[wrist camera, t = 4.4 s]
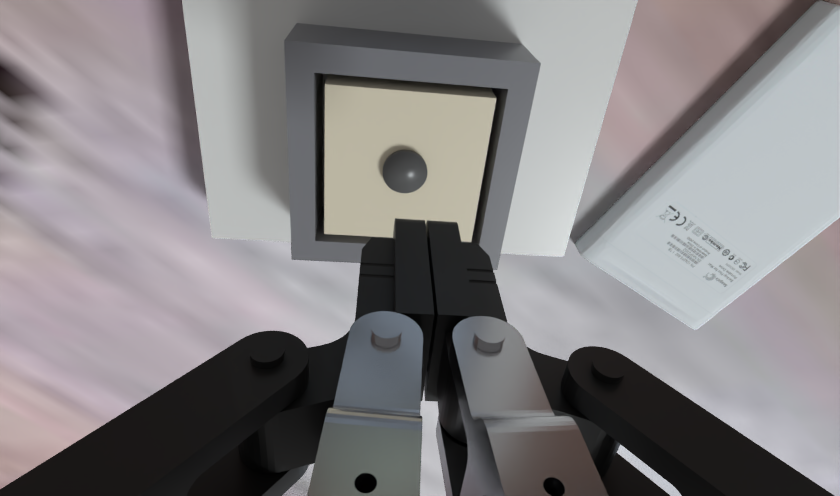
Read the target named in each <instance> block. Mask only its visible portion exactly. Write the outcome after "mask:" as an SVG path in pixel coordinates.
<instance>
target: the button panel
mask: <svg viewBox="0 0 840 496" xmlns="http://www.w3.org/2000/svg"><path fill="white" fill-rule="evenodd" d="M637 1H638V0H182V5H183V13H184V21H185V29H186V37H187V45H188V53H189V60H190V68H191V76H192V84H193V92H194V100H195V108H196V116H197V124H198V132H199V140H200V148H201V155H202V163H203V171H204V179H205V187H206V195H207V203H208V211H209V219H210V227H211V235H212V238H218V239H237V240H256V241H274V242H291V254H292V260H311V261H331V262H351V263H361V253H362V248H363V247H364V246H365V245H366V244H367V242H368V241H369V240H370V239H371V238H372V237H371V236H353V235H334V234H324V164H325V82H326V79H327V76H328V74H336V75H347V76H359V77H371V78H383V79H395V80H407V81H418V82H430V83H442V84H454V85H466V86H478V87H490V88H491V89H492V91H493V93H494V95H495V97H496V98H497V99H496V104H495V110H494V116H493V121H492V127H491V133H490V138H489V144H488V150H487V155H486V161H485V167H484V173H483V178H482V184H481V190H480V195H479V201H478V207H477V212H476V218H475V224H474V229H473V235H472V241H471V242H461V243H474V244H478V245H479V246H480V247H481V248H482V249H483V250H484V251H485V252H486V253H487V254H488V255H489V256H490V260H491V264H492V268H493V270H497V268H498V263H499V258H500V254H518V255H537V256H555V257H564V254H565V251H566V247H567V244H568V240H569V237H570V233H571V230H572V226H573V223H574V219H575V216H576V212H577V209H578V206H579V202H580V199H581V195H582V192H583V188H584V185H585V181H586V178H587V174H588V171H589V168H590V164H591V161H592V157H593V154H594V150H595V147H596V143H597V140H598V136H599V133H600V129H601V126H602V123H603V119H604V116H605V112H606V109H607V105H608V102H609V98H610V95H611V91H612V88H613V84H614V81H615V78H616V74H617V71H618V67H619V64H620V60H621V57H622V53H623V50H624V46H625V43H626V39H627V36H628V33H629V29H630V26H631V22H632V19H633V15H634V12H635V8H636V5H637ZM374 238H389V237H374ZM391 239H393V238H391Z"/></svg>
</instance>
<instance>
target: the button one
mask: <svg viewBox="0 0 840 496" xmlns="http://www.w3.org/2000/svg"><path fill="white" fill-rule="evenodd" d="M496 99H497V98H496V97H495V95H494V93H493V91H492V89H491V88H490V87H478V86H466V85H454V84H442V83H430V82H418V81H407V80H395V79H383V78H371V77H359V76H347V75H336V74H328V76H327V79H326V82H325V164H324V234H334V235H353V236H371V237H389V238H393V231H394V221H395V218H398V219H414V220H425V224H426V222H427V220H431V221H446V222H457V223H458V227H459V233H460V238H461V242H471V241H472V235H473V229H474V224H475V218H476V212H477V207H478V201H479V195H480V190H481V184H482V178H483V173H484V167H485V161H486V155H487V150H488V144H489V138H490V133H491V127H492V121H493V116H494V110H495V104H496Z"/></svg>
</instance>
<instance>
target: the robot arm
mask: <svg viewBox="0 0 840 496" xmlns="http://www.w3.org/2000/svg"><path fill="white" fill-rule="evenodd" d="M424 390H425V401H438V409H439V416H438V422H437V428H436V437H437V443H438V449H439V455H440V461H441V467H442V473H443V479H444V485H445V491H446V496H670V495H669V494H668V493H666V492H665V491H664V490H663V489H661V488H660V487H659V486H658V485H656V484H655V483H654V482H653V481H651V480H650V479H649V478H648V477H646V476H645V475H644V474H643V473H641V472H640V471H639V470H638V469H636V468H635V467H634V466H633V465H631V464H630V463H629V462H628V461H626V460H625V459H624V458H623V457H621V456H620V455H619V454H618V453H616V452H617V450H618V448H619V446H620V444H621V445H622V446H624V447H625V448H626V449H627V450H629V451H630V452H631V453H633V454H634V455H635V456H636V457H638V458H639V459H640V460H641V461H643V462H644V463H645V464H647V465H648V466H649V467H650V468H652V469H653V470H654V471H655V472H657V473H658V474H659V475H661V476H662V477H663V478H664V479H666V480H667V481H668V482H670V483H671V484H672V485H673V486H674V487H675V488H676V489H677V490H678V491H679V492H680V494H681V495H682V496H834V495H832V494H831V493H829V492H828V491H826V490H825V489H823V488H822V487H820V486H819V485H817V484H816V483H814V482H813V481H811V480H810V479H808V478H807V477H805V476H804V475H802V474H801V473H799V472H798V471H796V470H795V469H793V468H792V467H790V466H789V465H787V464H786V463H784V462H783V461H781V460H780V459H778V458H777V457H775V456H774V455H772V454H771V453H769V452H768V451H766V450H765V449H763V448H762V447H760V446H759V445H757V444H756V443H754V442H753V441H751V440H750V439H748V438H747V437H745V436H744V435H742V434H741V433H739V432H738V431H736V430H735V429H733V428H732V427H730V426H729V425H727V424H726V423H724V422H723V421H721V420H720V419H718V418H717V417H715V416H714V415H712V414H711V413H709V412H708V411H706V410H705V409H703V408H702V407H700V406H699V405H697V404H696V403H694V402H693V401H691V400H690V399H688V398H687V397H685V396H684V395H682V394H681V393H679V392H678V391H676V390H675V389H673V388H672V387H670V386H669V385H667V384H666V383H664V382H663V381H661V380H660V379H658V378H657V377H655V376H654V375H652V374H651V373H649V372H648V371H646V370H645V369H643V368H642V367H640V366H639V365H637V364H636V363H634V362H633V361H631V360H630V359H628V358H627V357H625V356H623V355H622V354H620V353H618V352H616V351H613V350H610V349H607V348H603V347H596V346H589V347H583V348H580V349H578V350H576V351H574V352H573V353H572V354H571V356H570V357H569V360H568V361H565V360H562V359H558V358H554V357H551V356H547V355H544V354H541V353H538V352H536V351H534V350H531V349H530V348H528V347H526V344H525V342H524V339H523V337H522V336H521V334H520V333H519V332H518V330H516V329H515V328H514V327H513V326H512V325H510V324H509V323H507V319H506V316H505V312H504V308H503V305H502V301H501V297H500V293H499V290H498V286H497V284H496V279H495V275H494V273H493V268H492V264H491V260H490V256H489V255H488V254H487V253H486V252H485V251H484V250H483V249H482V248H481V247H480V246H479V245H478V244H474V243H461V238H460V233H459V227H458V223H457V222H446V221H431V220H427V222H426V224H425V220H414V219H398V218H395V221H394V231H393V239H391V238H374V237H372V238H371V239H370V240H369V241H368V242H367V244H366V245H365V246H364V247H363V248H362V253H361V265H360V275H359V286H358V296H357V307H356V318H355V322H354V323H353V325H352V326H351V328H350V331H349V332H348V333H347V334H346V335H344V336H343V337H342V338H340V339H338V340H336V341H334V342H331V343H329V344H325V345H321V346H316V347H311V348H307V347H306V345H305V344H304V343H303V342H302V340H300V339H299V338H298V337H296V336H294V335H292V334H289V333H286V332H281V331H264V332H258V333H254V334H252V335H249V336H247V337H245V338H243V339H241V340H239V341H238V342H236V343H235V344H233V345H231V346H230V347H228V348H227V349H225V350H223V351H222V352H220V353H219V354H217V355H215V356H214V357H212V358H211V359H209V360H207V361H206V362H204V363H202V364H201V365H199V366H198V367H196V368H194V369H193V370H191V371H190V372H188V373H186V374H185V375H183V376H182V377H180V378H178V379H177V380H175V381H174V382H172V383H170V384H169V385H167V386H166V387H164V388H162V389H161V390H159V391H158V392H156V393H154V394H153V395H151V396H150V397H148V398H146V399H145V400H143V401H141V402H140V403H138V404H137V405H135V406H133V407H132V408H130V409H129V410H127V411H125V412H124V413H122V414H121V415H119V416H117V417H116V418H114V419H113V420H111V421H109V422H108V423H106V424H105V425H103V426H101V427H100V428H98V429H97V430H95V431H93V432H92V433H90V434H89V435H87V436H85V437H84V438H82V439H80V440H79V441H77V442H76V443H74V444H72V445H71V446H69V447H68V448H66V449H64V450H63V451H61V452H60V453H58V454H56V455H55V456H53V457H52V458H50V459H48V460H47V461H45V462H44V463H42V464H40V465H39V466H37V467H36V468H34V469H32V470H31V471H29V472H28V473H26V474H24V475H23V476H21V477H19V478H18V479H16V480H15V481H13V482H11V483H10V484H8V485H7V486H5V487H3V488H2V489H0V496H282V495H283V494H284V493H285V492H286V491H287V490H288V489H289V488H290V487H291V486H292V485H293V484H295V483H296V482H297V481H298V480H299V479H300V478H301V477H302V476H303V474H304V473H305V472H306V470H307V468H308V466H309V464H313V463H315V464H314V469H313V473H312V477H311V482H310V486H309V490H308V495H307V496H420V472H421V445H422V416H420V402H421V401H422V398H423V391H424Z"/></svg>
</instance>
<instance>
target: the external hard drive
mask: <svg viewBox="0 0 840 496" xmlns="http://www.w3.org/2000/svg"><path fill="white" fill-rule="evenodd" d="M838 218H840V6H839V5H836V4H832V3H829V2H825V1H823V0H818V1H816V2H815V3H814V4H813V5H812V6H811V7H810V8H809V9H808V10H807V11H806V12H805V13H804V14H803V15H802V16H801V17H800V18H799V19H798V20H797V21H796V22H795V23H794V24H793V25H792V26H791V27H790V28H789V29H788V30H787V31H786V32H785V33H784V34H783V35H782V36H781V37H780V38H779V39H778V40H777V41H776V42H775V43H774V44H773V45H772V46H771V47H770V48H769V49H768V50H767V51H766V52H765V53H764V54H763V55H762V56H761V57H760V58H759V59H758V60H757V61H756V62H755V63H754V64H753V65H752V66H751V67H750V68H749V69H748V70H747V71H746V72H745V73H744V74H743V75H742V76H741V77H740V78H739V79H738V80H737V81H736V82H735V83H734V84H733V85H732V86H731V87H730V88H729V89H728V90H727V91H726V92H725V93H724V94H723V95H722V96H721V97H720V98H719V99H718V100H717V101H716V102H715V103H714V104H713V105H712V106H711V107H710V108H709V109H708V110H707V111H706V112H705V113H704V114H703V115H702V116H701V117H700V119H699V120H698V121H697V122H695V123H694V124H693V125H692V126H691V127H690V128H689V129H688V130H687V131H686V132H685V133H684V134H683V136H682V137H680V138H679V139H678V140H677V141H676V142H675V143H674V144H673V145H672V146H671V147H670V148H669V149H668V150H667V152H666V153H665V154H664V155H663V156H662V157H660V158H659V159H658V160H657V162H656V163H655V164H654V165H653V166H652V167H651V168H650V169H648V170H647V171H646V172H645V173H644V174H643V175H642V177H641V178H639V179H638V180H637V181H636V183H635V184H634V185H633V186H632V187H631V188H630V189H629V190H628V191H627V192H626V193H625V194H624V195H623V196H622V197H621V198H620V199H619V200H618V201H617V202H616V203H615V204H614V205H613V206H612V207H611V208H610V209H609V210H608V211H607V212H606V213H605V214H604V215H603V216H602V217H601V218H600V219H599V220H598V221H597V222H596V223H595V224H594V225H593V226H592V227H591V228H589V229H588V231H587V232H586V233H584V234H583V235H582V236H581V237H580V238H579V240H578V241H577V242H576V243H575V246H576V248H577V249H578V252H579V253H580V255H581V256H582V257H584V258H585V259H586V260H587V261H589V262H590V263H592V264H593V265H595V266H596V267H598V268H600V269H601V270H603V271H604V272H606V273H607V274H609V275H610V276H612V277H614V278H615V279H617V280H618V281H620V282H621V283H623V284H624V285H626V286H627V287H629V288H630V289H632V290H634V291H635V292H637V293H638V294H640V295H641V296H642V297H644V298H645V299H647V300H649V301H650V302H652V303H653V304H655V305H656V306H658V307H659V308H661V309H662V310H664V311H665V312H667V313H668V314H670V315H671V316H673V317H674V318H676V319H678V320H679V321H681V322H682V323H684V324H685V325H687V326H688V327H689V328H691V329H694V330H697V329H698V328H700V327H701V326H702V325H704V324H705V323H706V322H707V321H708V320H710V319H711V318H712V317H714V316H715V315H716V314H717V313H718V312H719V311H721V310H722V309H723V308H725V307H726V306H727V305H729V304H730V303H731V302H733V301H734V300H735V299H736V298H738V297H739V296H740V295H742V294H743V293H744V292H745V291H747V290H748V289H749V288H751V287H752V286H753V285H754V284H756V283H757V282H758V281H760V280H761V279H762V278H763V277H764V276H766V275H767V274H768V273H770V272H771V271H772V270H774V269H775V268H776V267H777V266H779V265H780V264H781V263H782V262H783V261H785V260H786V259H787V258H789V257H790V256H791V255H793V254H794V253H795V252H796V251H798V250H799V249H800V248H802V247H803V246H804V245H805V244H807V243H808V242H809V241H810V240H812V239H813V238H814V237H816V236H817V235H818V234H819V233H821V232H822V231H823V230H824V229H826V228H827V227H828V226H830V225H831V224H832V223H833V222H835V221H836V220H837V219H838Z"/></svg>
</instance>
